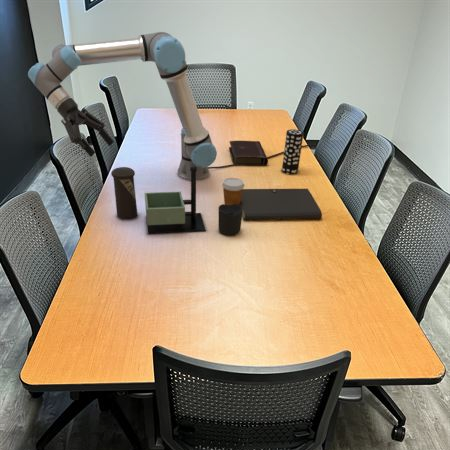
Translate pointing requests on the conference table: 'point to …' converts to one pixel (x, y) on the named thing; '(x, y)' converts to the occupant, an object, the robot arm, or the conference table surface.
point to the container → (125, 193)
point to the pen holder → (230, 219)
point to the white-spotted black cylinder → (292, 151)
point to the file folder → (279, 204)
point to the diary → (248, 153)
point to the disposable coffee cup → (232, 190)
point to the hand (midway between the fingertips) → (102, 149)
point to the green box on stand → (173, 211)
